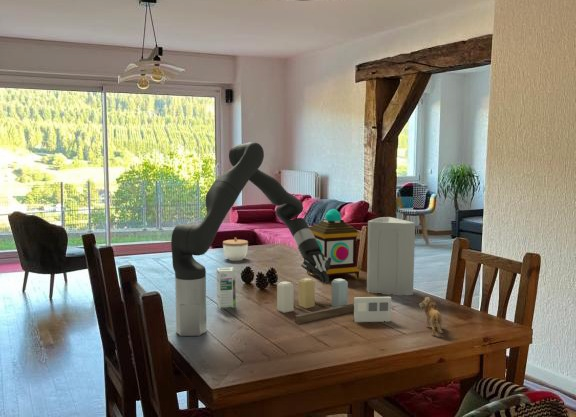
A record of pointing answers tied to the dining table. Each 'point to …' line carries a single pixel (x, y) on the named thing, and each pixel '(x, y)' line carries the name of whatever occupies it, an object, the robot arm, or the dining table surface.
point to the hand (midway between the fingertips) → (326, 282)
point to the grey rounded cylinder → (339, 292)
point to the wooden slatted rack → (322, 312)
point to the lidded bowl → (235, 249)
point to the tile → (372, 309)
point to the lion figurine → (432, 315)
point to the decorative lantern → (337, 243)
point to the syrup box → (226, 288)
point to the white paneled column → (390, 256)
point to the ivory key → (285, 296)
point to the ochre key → (306, 293)
